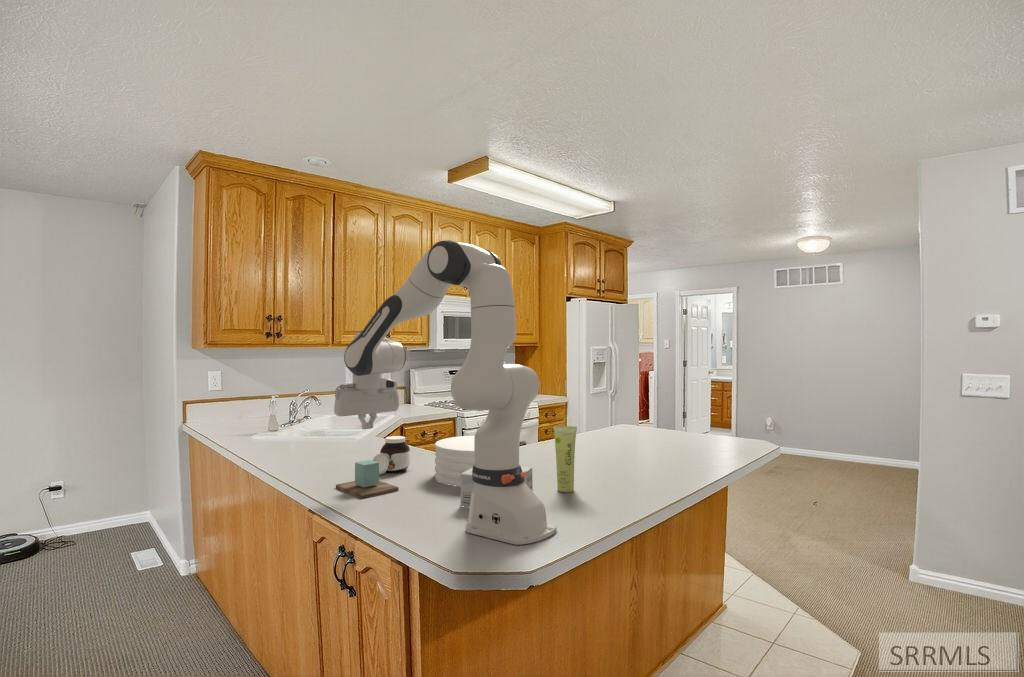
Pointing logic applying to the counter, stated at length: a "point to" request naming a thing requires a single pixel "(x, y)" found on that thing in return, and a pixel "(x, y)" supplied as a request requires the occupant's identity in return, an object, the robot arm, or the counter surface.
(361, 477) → the teal rectangular block
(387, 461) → the spread jar
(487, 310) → the robot arm
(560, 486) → the tube
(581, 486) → the counter surface
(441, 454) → the plate stack
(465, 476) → the supplement box
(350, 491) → the post stand
